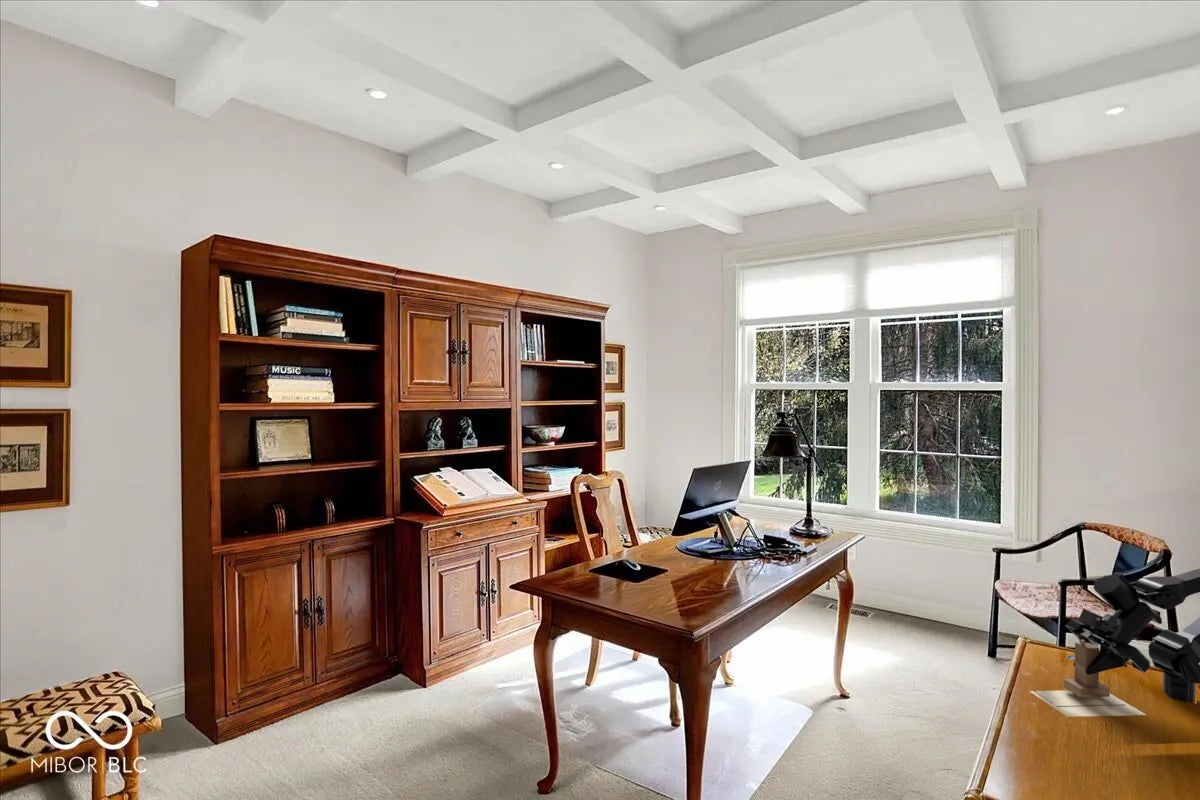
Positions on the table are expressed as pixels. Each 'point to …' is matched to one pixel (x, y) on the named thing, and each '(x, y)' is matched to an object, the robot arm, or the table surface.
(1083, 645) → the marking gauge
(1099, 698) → the birch board
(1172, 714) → the table surface
